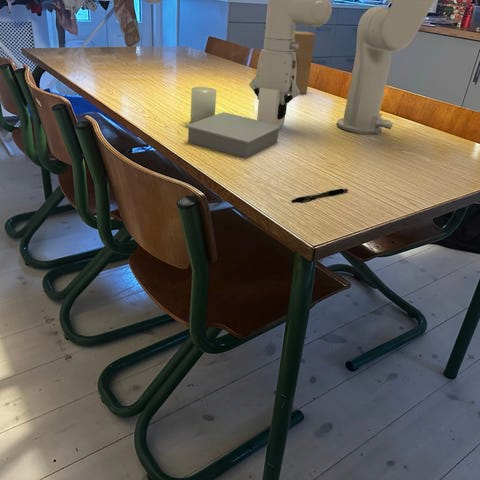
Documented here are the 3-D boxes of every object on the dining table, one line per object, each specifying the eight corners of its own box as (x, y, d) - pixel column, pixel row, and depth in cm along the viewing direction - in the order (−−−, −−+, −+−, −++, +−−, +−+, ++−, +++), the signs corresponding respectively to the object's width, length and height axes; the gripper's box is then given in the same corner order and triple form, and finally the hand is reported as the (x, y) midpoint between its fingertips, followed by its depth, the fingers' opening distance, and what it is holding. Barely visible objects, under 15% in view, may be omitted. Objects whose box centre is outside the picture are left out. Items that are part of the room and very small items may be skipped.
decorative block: (279, 94, 168) (286, 32, 158) (272, 90, 173) (279, 30, 163) (307, 94, 172) (316, 34, 162) (300, 90, 176) (308, 31, 167)
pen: (294, 207, 89) (296, 202, 89) (289, 201, 90) (291, 197, 90) (349, 195, 96) (352, 191, 95) (344, 190, 97) (347, 185, 96)
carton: (284, 123, 134) (288, 87, 129) (272, 129, 129) (276, 91, 124) (268, 120, 136) (271, 84, 131) (256, 125, 131) (259, 88, 126)
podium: (279, 141, 121) (281, 126, 119) (246, 159, 108) (248, 141, 106) (222, 127, 128) (223, 112, 126) (185, 141, 115) (185, 125, 113)
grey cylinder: (218, 124, 130) (220, 90, 126) (205, 129, 125) (207, 94, 121) (199, 119, 133) (200, 85, 128) (185, 123, 128) (186, 89, 123)
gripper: (315, 48, 122) (305, 119, 131) (256, 39, 129) (250, 108, 138) (303, 51, 116) (293, 125, 125) (242, 42, 123) (237, 113, 132)
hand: (271, 115), depth 131 cm, fingers closed on carton, 5 cm apart
